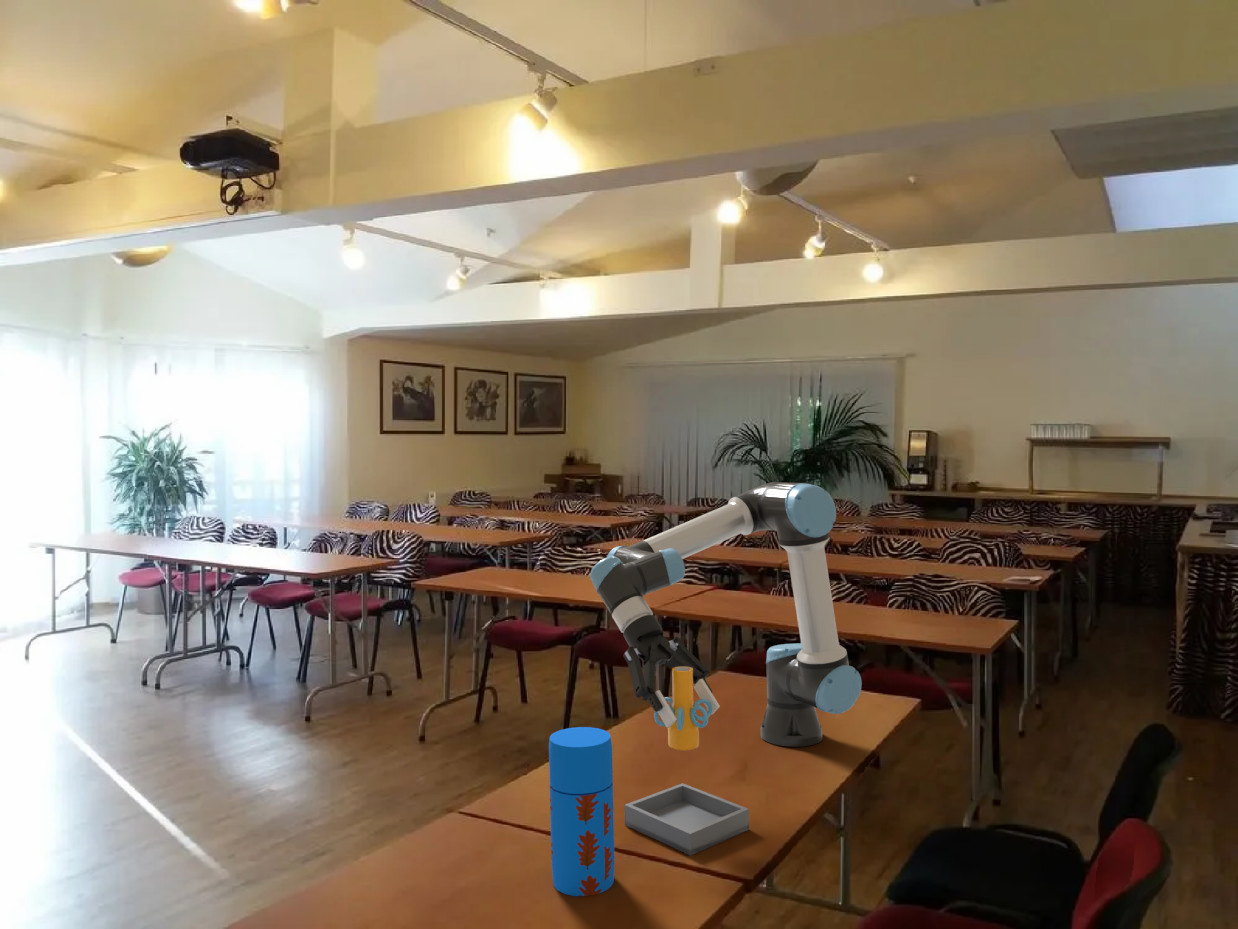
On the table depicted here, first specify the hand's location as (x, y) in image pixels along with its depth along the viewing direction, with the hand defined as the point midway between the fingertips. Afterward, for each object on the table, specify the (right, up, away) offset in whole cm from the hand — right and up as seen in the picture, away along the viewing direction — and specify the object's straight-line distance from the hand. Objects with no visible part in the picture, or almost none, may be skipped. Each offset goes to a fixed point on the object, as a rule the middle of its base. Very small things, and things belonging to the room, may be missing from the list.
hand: (694, 717), depth 176 cm
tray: (-1, -22, +3) cm, 22 cm away
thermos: (-20, -23, -18) cm, 36 cm away
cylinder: (-2, -6, +2) cm, 7 cm away
